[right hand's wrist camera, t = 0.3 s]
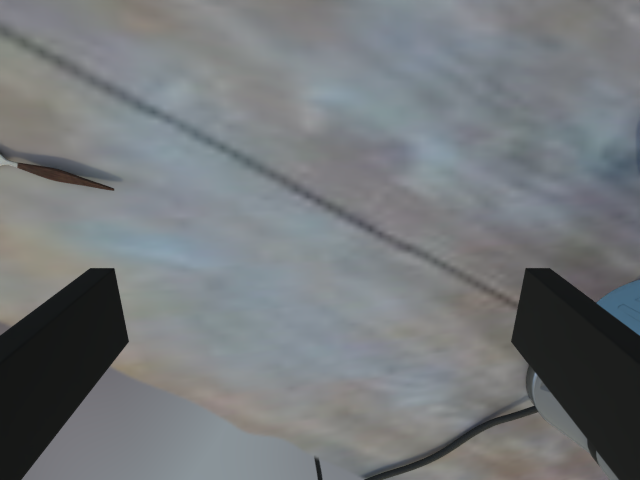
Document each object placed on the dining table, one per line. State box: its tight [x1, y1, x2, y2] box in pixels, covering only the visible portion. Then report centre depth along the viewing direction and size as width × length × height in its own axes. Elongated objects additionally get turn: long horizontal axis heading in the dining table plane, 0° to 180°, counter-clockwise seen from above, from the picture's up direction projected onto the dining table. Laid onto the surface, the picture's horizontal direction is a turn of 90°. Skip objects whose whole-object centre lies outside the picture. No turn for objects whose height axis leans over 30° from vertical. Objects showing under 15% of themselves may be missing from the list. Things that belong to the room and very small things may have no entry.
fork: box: [0, 154, 114, 191], centre depth 37 cm, size 3×16×2 cm, turn 75°
